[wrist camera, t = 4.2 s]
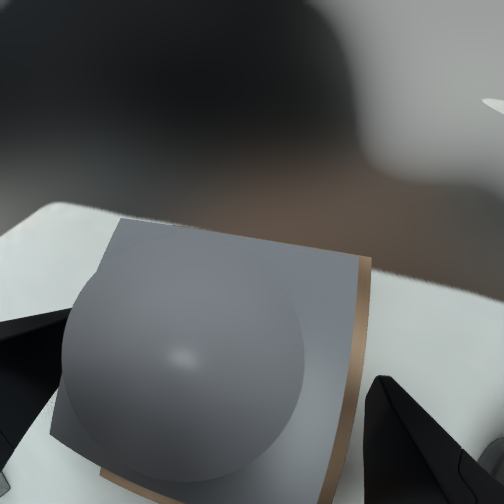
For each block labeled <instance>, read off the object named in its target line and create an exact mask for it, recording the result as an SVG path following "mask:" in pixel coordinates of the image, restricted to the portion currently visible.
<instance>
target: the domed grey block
mask: <svg viewBox="0 0 504 504" xmlns="http://www.w3.org/2000/svg"><path fill="white" fill-rule="evenodd" d="M358 267H359V256H356V255H351V254H345V253H339V252H333V251H327V250H322V249H316V248H310V247H304V246H298V245H292V244H286V243H280V242H274V241H267V240H261V239H255V238H249V237H243V236H236V235H230V234H224V233H217V232H211V231H204V230H198V229H191V228H185V227H178V226H171V225H165V224H158V223H151V222H144V221H138V220H131V219H124V218H121V219H120V221H119V223H118V225H117V227H116V229H115V231H114V233H113V236H112V238H111V240H110V242H109V244H108V246H107V249H106V251H105V253H104V255H103V258H102V260H101V262H100V264H99V267H98V269H97V272H96V273H95V274H94V275H93V276H92V277H91V278H90V279H89V281H88V282H87V283H86V285H85V286H84V288H83V289H82V290H81V292H80V294H79V295H78V297H77V299H76V301H75V303H74V304H73V307H72V309H71V312H70V314H69V317H68V320H67V323H66V327H65V331H64V336H63V343H62V376H61V380H60V384H59V388H58V393H57V397H56V402H55V407H54V412H53V417H52V423H51V429H50V435H51V436H53V437H54V438H56V439H57V440H58V441H60V442H61V443H63V444H64V445H66V446H67V447H69V448H70V449H72V450H73V451H75V452H77V453H78V454H80V455H82V456H83V457H85V458H86V459H88V460H90V461H92V462H93V463H95V464H97V465H99V466H100V467H102V468H104V469H106V470H108V471H110V472H112V473H114V474H116V475H118V476H120V477H122V478H124V479H126V480H128V481H130V482H132V483H134V484H137V485H139V486H141V487H144V488H146V489H148V490H151V491H153V492H156V493H158V494H161V495H163V496H166V497H169V498H172V499H174V500H177V501H180V502H183V503H186V504H317V501H318V498H319V495H320V492H321V488H322V485H323V482H324V478H325V475H326V471H327V468H328V464H329V460H330V456H331V452H332V448H333V444H334V440H335V436H336V431H337V427H338V422H339V418H340V413H341V408H342V402H343V397H344V392H345V386H346V380H347V374H348V367H349V360H350V353H351V346H352V338H353V329H354V320H355V309H356V297H357V284H358Z"/></svg>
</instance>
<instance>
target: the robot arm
mask: <svg viewBox="0 0 504 504" xmlns="http://www.w3.org/2000/svg"><path fill="white" fill-rule="evenodd" d="M71 309H72V308H68V309H64V310H59V311H54V312H49V313H44V314H39V315H34V316H28V317H23V318H18V319H13V320H8V321H2V322H0V473H1V472H2V470H3V468H4V467H5V465H6V463H7V462H8V460H9V458H10V457H11V455H12V454H13V452H14V451H15V449H16V447H17V446H18V444H19V442H20V441H21V439H22V438H23V436H24V435H25V433H26V432H27V431H28V429H29V428H30V426H31V425H32V423H33V422H34V420H35V419H36V417H37V416H38V415H39V413H40V412H41V410H42V409H43V408H44V406H45V405H46V403H47V402H48V401H49V399H50V398H51V397H52V395H53V394H54V393H55V391H56V390H57V389H58V387H59V384H60V380H61V376H62V343H63V336H64V331H65V327H66V323H67V320H68V317H69V314H70V312H71ZM461 448H462V447H461V446H460V445H459V444H458V443H457V442H456V441H455V440H454V439H453V438H452V437H451V436H450V435H449V434H448V433H447V432H446V431H445V430H444V429H443V428H442V427H441V426H440V425H439V424H438V423H437V422H436V421H435V420H434V419H433V418H432V417H431V416H430V415H429V414H428V413H427V412H426V411H425V410H424V409H423V408H422V407H421V406H420V405H419V404H418V403H417V402H416V401H415V400H414V399H413V398H412V397H411V396H410V395H409V394H408V393H407V392H406V391H405V390H404V389H403V388H402V387H401V386H400V385H399V384H398V383H397V382H396V381H395V380H394V379H393V378H392V377H391V376H385V375H378V376H376V377H375V379H374V381H373V383H372V385H371V387H370V389H369V391H368V393H367V395H366V399H365V415H364V435H363V460H364V504H504V485H503V484H502V483H500V482H499V481H498V480H497V479H496V478H494V477H493V476H492V475H491V474H490V473H488V472H487V471H486V470H485V469H484V468H483V467H481V466H480V465H479V464H478V463H477V462H476V461H475V460H474V459H473V458H472V457H471V456H470V455H469V454H468V453H467V452H466V451H465V450H464V449H461Z"/></svg>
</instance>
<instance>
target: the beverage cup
mask: <svg viewBox="0 0 504 504" xmlns="http://www.w3.org/2000/svg"><path fill="white" fill-rule="evenodd" d="M477 463H478V464H479V465H480V466H481V467H483V468H484V469H485V470H486V471H487V472H488V473H490V474H491V475H492V476H493V477H494V478H496V479H497V480H498V481H499V482H500V483H502V484H503V485H504V438H499V439H497V440H495V441H494V442H492V443H491V444H490V445H489V446H488V447H487V448H486V449H485V451H484V452H483V454H482V455H481V456H480V458H479V460H478V462H477Z"/></svg>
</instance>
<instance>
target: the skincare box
mask: <svg viewBox="0 0 504 504" xmlns="http://www.w3.org/2000/svg"><path fill="white" fill-rule="evenodd" d="M8 489H9V485H8V484H7V482H6V480H5V478H4V476H3V474H2V472H1V473H0V496H1V495H3V494H4V493H5V492H6V491H7V490H8Z"/></svg>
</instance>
